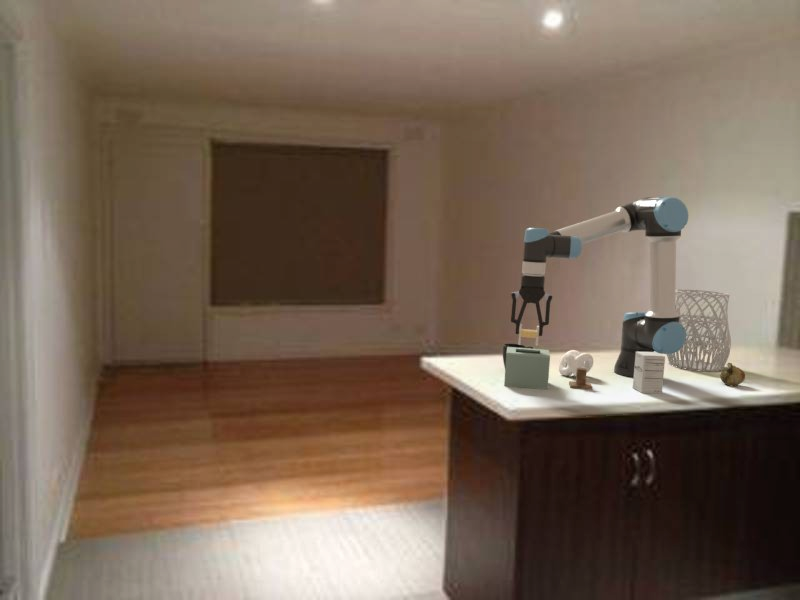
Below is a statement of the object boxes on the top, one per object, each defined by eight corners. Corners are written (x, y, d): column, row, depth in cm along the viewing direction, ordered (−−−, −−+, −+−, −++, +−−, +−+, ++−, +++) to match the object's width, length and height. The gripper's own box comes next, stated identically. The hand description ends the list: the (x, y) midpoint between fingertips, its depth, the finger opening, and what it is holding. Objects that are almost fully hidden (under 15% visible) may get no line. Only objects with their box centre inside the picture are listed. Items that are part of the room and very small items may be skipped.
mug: (537, 373, 270) (539, 346, 269) (509, 374, 266) (510, 347, 265) (525, 368, 278) (527, 343, 277) (497, 369, 273) (499, 343, 272)
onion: (742, 388, 261) (744, 366, 260) (717, 385, 265) (719, 362, 264) (745, 385, 267) (747, 363, 266) (721, 381, 271) (723, 360, 270)
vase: (710, 375, 283) (717, 296, 280) (651, 363, 301) (658, 289, 298) (739, 369, 299) (746, 294, 296) (682, 358, 317) (688, 288, 314)
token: (536, 335, 251) (536, 330, 251) (536, 338, 246) (536, 332, 246) (521, 334, 252) (521, 328, 251) (520, 336, 247) (521, 330, 247)
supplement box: (631, 388, 252) (635, 351, 251) (653, 388, 253) (656, 351, 252) (640, 393, 245) (643, 355, 244) (662, 393, 246) (665, 355, 244)
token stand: (590, 385, 254) (591, 367, 253) (592, 389, 247) (593, 371, 246) (569, 383, 255) (570, 366, 254) (570, 387, 248) (571, 369, 247)
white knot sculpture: (589, 382, 259) (591, 356, 258) (554, 377, 263) (556, 352, 262) (593, 376, 270) (595, 351, 269) (559, 372, 274) (561, 348, 273)
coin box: (546, 381, 255) (548, 350, 254) (547, 389, 244) (550, 355, 242) (505, 378, 258) (507, 346, 256) (504, 385, 246) (506, 352, 245)
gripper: (560, 276, 249) (555, 345, 251) (506, 272, 252) (501, 340, 254) (561, 277, 242) (556, 348, 244) (505, 273, 245) (500, 344, 247)
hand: (528, 344), depth 249 cm, fingers closed on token, 5 cm apart
